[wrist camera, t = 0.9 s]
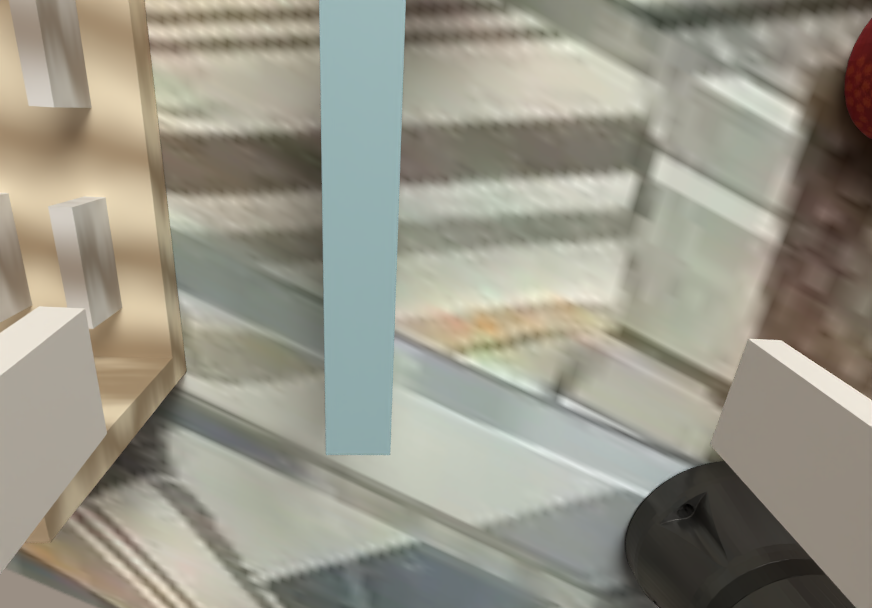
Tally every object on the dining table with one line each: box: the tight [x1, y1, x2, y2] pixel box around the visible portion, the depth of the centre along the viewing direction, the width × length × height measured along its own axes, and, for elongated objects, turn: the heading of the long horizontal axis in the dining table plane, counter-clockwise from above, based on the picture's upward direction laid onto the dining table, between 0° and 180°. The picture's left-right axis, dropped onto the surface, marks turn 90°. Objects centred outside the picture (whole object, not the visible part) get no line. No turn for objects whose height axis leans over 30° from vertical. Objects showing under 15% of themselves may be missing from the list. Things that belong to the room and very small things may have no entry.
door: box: [319, 0, 406, 455], centre depth 28 cm, size 20×3×14 cm, turn 177°
